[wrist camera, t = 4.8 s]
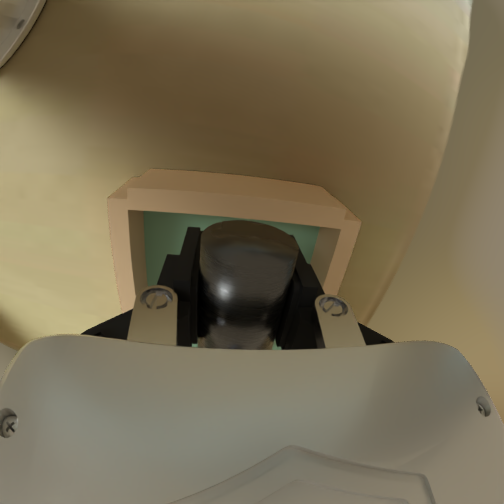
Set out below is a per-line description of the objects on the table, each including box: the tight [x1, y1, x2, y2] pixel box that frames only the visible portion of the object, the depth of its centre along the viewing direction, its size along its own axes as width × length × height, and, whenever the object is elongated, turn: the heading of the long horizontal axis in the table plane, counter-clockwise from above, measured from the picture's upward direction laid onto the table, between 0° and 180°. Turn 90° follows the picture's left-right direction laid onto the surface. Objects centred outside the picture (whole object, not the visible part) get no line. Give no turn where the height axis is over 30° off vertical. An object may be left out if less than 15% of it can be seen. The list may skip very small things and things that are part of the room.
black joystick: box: [197, 220, 299, 350], centre depth 13 cm, size 12×7×12 cm, turn 172°
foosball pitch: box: [107, 169, 362, 350], centre depth 21 cm, size 26×14×6 cm, turn 172°
